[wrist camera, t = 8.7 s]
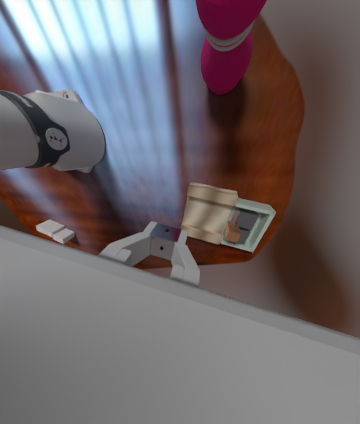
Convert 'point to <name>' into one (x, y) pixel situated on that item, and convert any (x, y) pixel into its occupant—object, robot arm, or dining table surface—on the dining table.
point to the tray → (259, 227)
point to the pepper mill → (226, 40)
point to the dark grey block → (247, 218)
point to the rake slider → (232, 226)
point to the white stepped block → (56, 231)
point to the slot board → (207, 211)
